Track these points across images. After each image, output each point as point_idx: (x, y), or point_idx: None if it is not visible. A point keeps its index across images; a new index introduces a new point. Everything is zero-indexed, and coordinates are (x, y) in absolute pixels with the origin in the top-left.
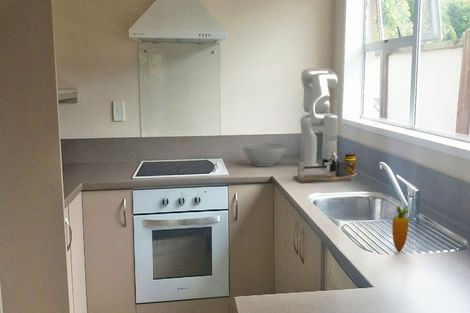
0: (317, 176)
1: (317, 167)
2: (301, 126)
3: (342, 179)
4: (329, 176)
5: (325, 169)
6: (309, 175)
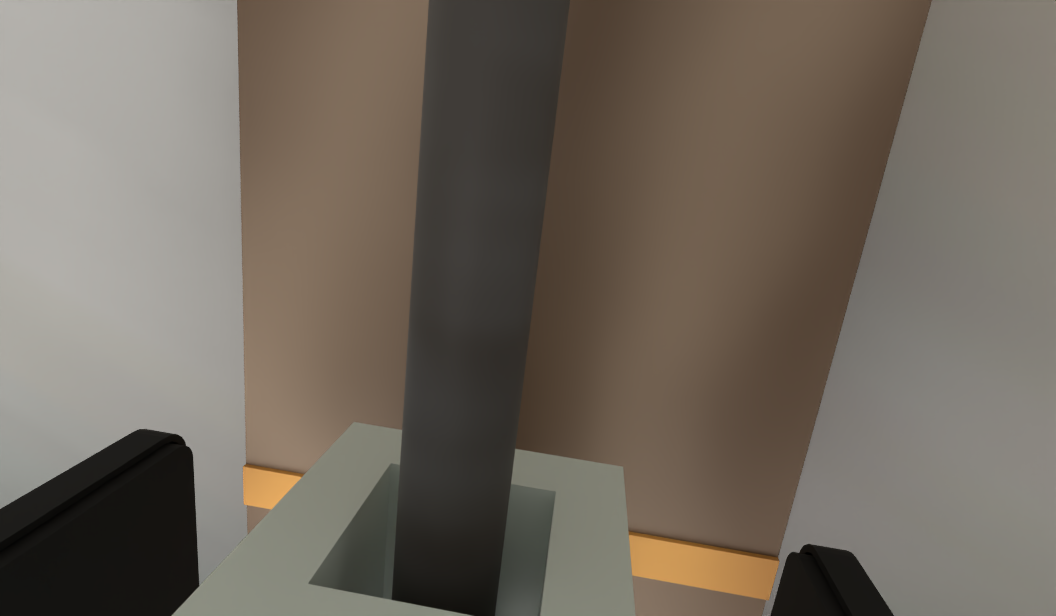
0: (630, 183)
1: (432, 51)
2: None
3: None
4: None
5: None
6: (870, 9)
